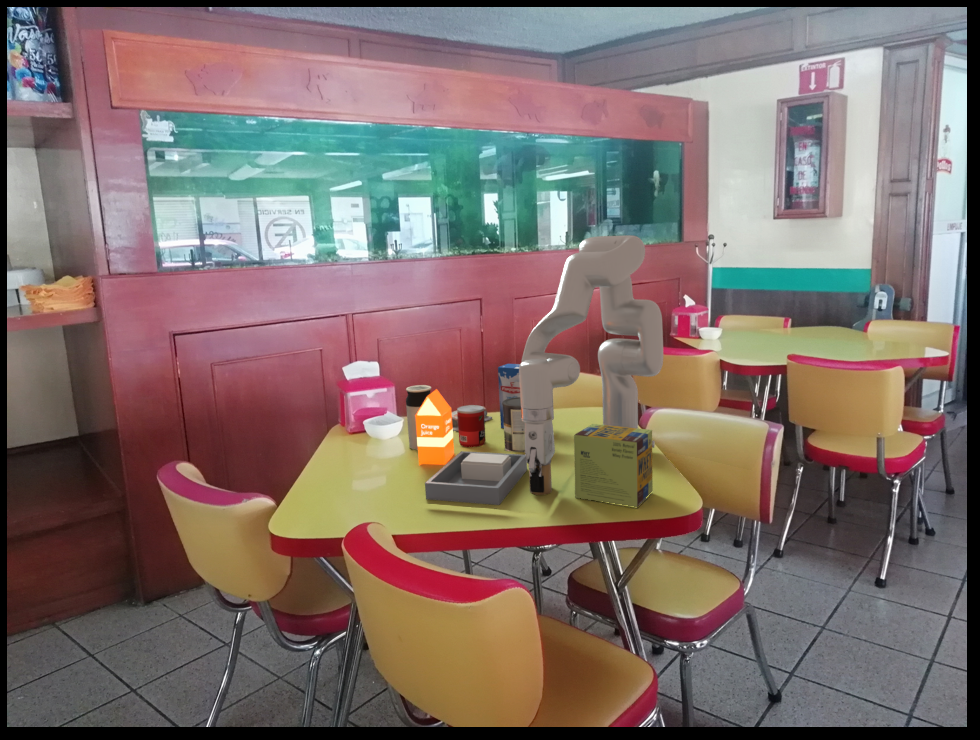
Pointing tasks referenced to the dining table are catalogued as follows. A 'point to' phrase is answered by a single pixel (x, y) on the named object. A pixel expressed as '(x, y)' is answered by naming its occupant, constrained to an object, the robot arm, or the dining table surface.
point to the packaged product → (455, 419)
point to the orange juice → (434, 430)
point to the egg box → (485, 466)
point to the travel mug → (415, 409)
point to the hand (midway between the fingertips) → (540, 486)
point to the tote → (473, 482)
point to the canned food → (471, 426)
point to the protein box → (613, 464)
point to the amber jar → (545, 478)
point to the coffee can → (513, 425)
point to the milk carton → (508, 384)
